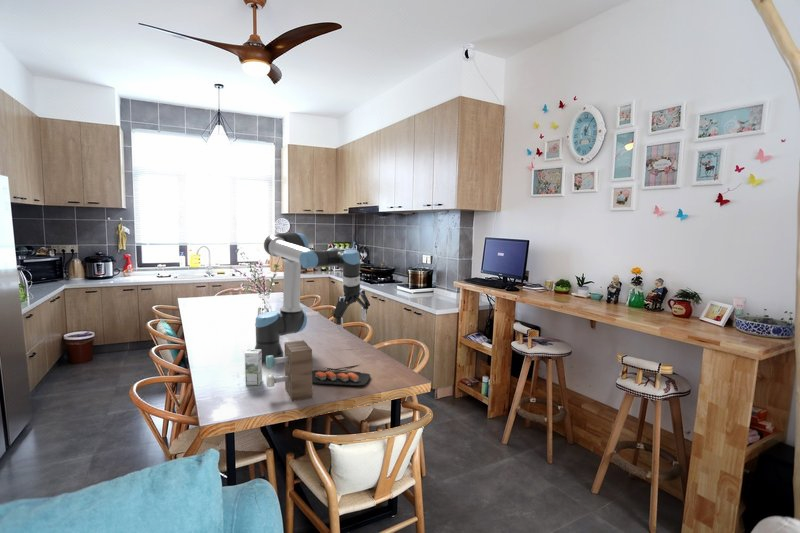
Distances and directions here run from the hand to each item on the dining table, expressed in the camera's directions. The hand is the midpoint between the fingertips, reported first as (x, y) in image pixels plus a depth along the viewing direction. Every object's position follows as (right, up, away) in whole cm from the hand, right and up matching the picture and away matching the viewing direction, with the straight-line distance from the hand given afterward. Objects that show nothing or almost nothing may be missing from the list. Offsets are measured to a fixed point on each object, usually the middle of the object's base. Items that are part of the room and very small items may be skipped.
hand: (352, 325), depth 195 cm
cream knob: (-26, -20, -28) cm, 43 cm away
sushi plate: (-5, -23, -2) cm, 24 cm away
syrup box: (-41, -23, -14) cm, 50 cm away
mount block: (-19, -24, -25) cm, 40 cm away
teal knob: (-26, -12, -29) cm, 40 cm away
